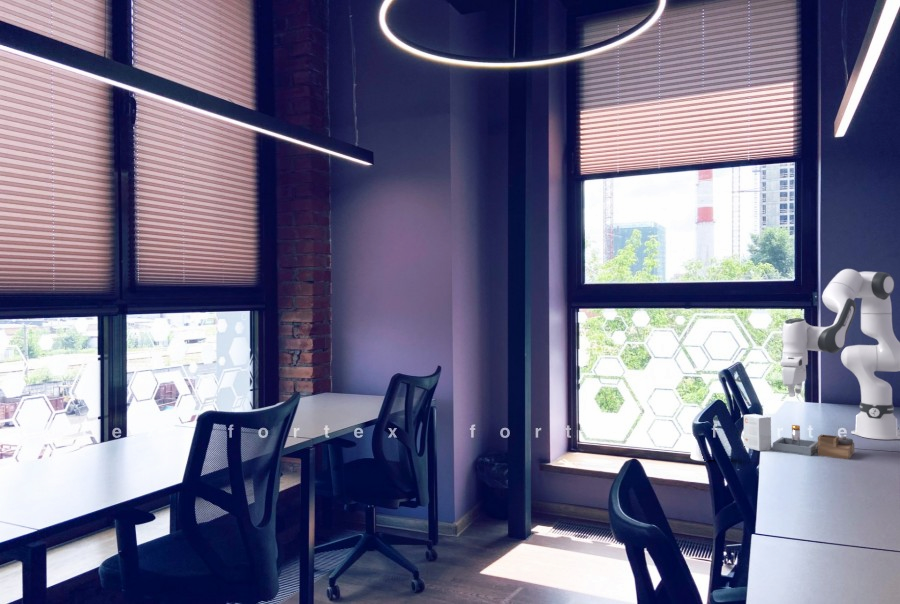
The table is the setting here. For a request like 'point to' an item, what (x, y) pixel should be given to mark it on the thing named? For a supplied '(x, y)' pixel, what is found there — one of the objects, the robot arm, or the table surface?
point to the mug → (695, 449)
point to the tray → (795, 446)
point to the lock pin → (796, 435)
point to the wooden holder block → (835, 446)
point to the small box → (757, 432)
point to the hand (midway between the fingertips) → (795, 394)
